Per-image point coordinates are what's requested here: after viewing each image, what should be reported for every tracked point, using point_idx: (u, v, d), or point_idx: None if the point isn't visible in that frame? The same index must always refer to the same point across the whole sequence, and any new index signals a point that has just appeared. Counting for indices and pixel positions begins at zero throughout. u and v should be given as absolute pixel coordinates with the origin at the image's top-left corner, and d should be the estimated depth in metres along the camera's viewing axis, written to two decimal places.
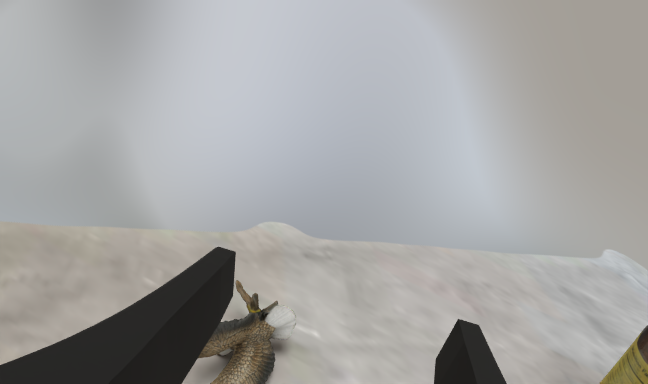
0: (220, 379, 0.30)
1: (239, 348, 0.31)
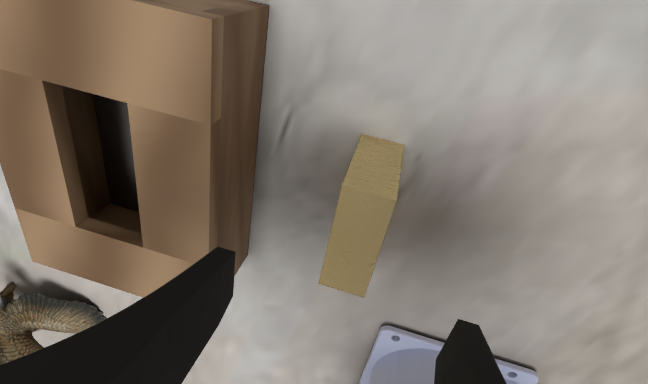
0: (69, 332, 0.30)
1: (31, 328, 0.29)
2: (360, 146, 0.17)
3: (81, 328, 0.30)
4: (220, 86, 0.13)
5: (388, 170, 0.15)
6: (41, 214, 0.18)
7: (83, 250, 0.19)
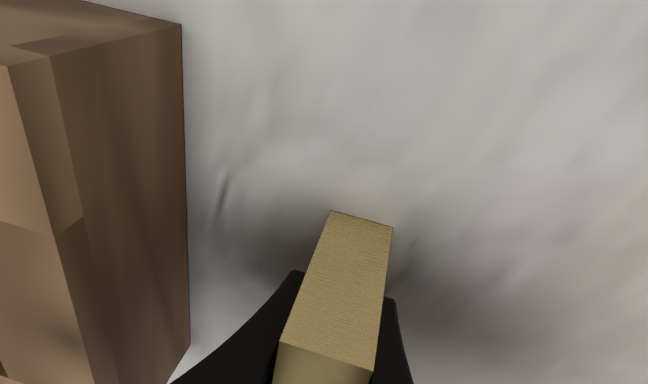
0: None
1: None
2: (324, 238, 0.11)
3: None
4: (69, 171, 0.08)
5: (365, 290, 0.09)
6: None
7: None
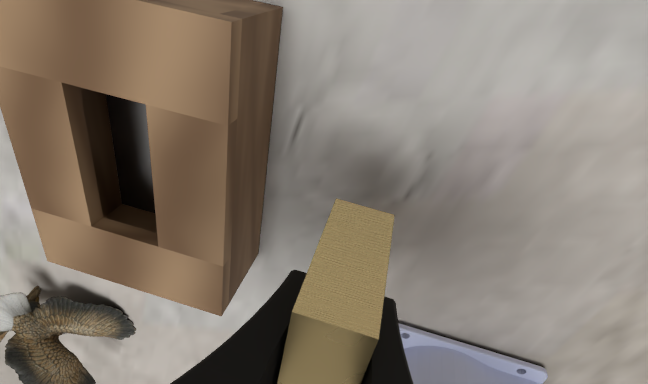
0: None
1: (58, 332, 0.29)
2: (331, 223, 0.12)
3: (107, 332, 0.30)
4: (237, 87, 0.14)
5: (369, 269, 0.10)
6: (57, 214, 0.18)
7: (98, 249, 0.19)
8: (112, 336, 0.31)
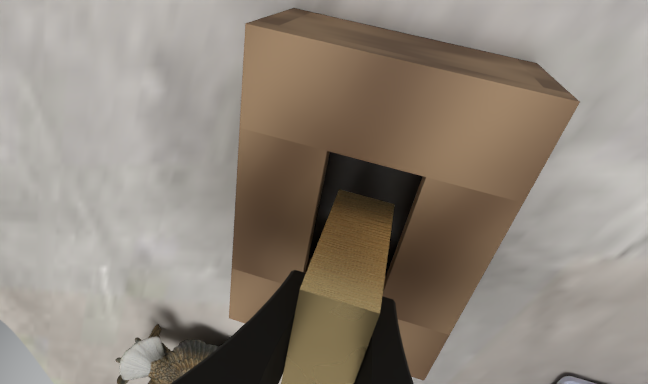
0: None
1: None
2: (334, 211, 0.12)
3: None
4: None
5: (371, 252, 0.11)
6: (262, 275, 0.17)
7: None
8: None
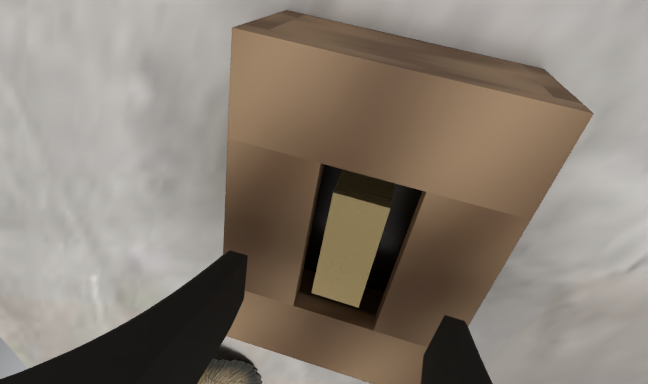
0: None
1: None
2: None
3: None
4: None
5: None
6: (254, 291, 0.16)
7: (292, 328, 0.17)
8: None
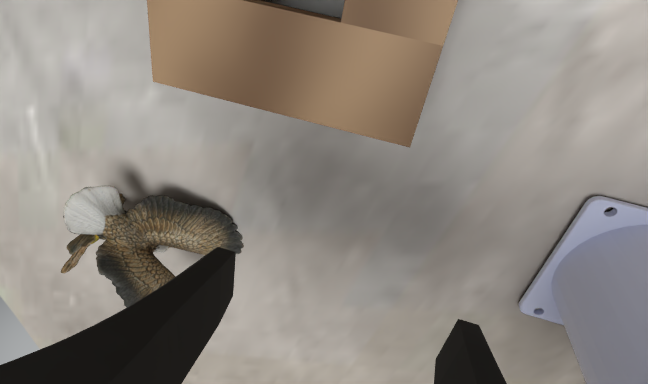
0: (197, 251, 0.24)
1: (153, 244, 0.23)
2: None
3: (212, 245, 0.24)
4: None
5: None
6: None
7: (238, 45, 0.13)
8: None
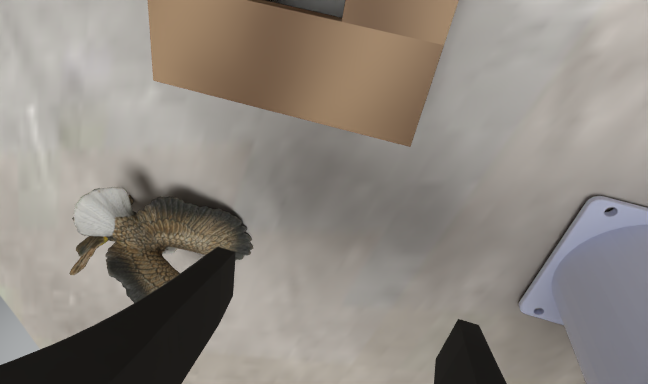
0: (206, 253, 0.24)
1: (163, 246, 0.23)
2: None
3: (222, 247, 0.24)
4: None
5: None
6: None
7: (239, 44, 0.13)
8: None
